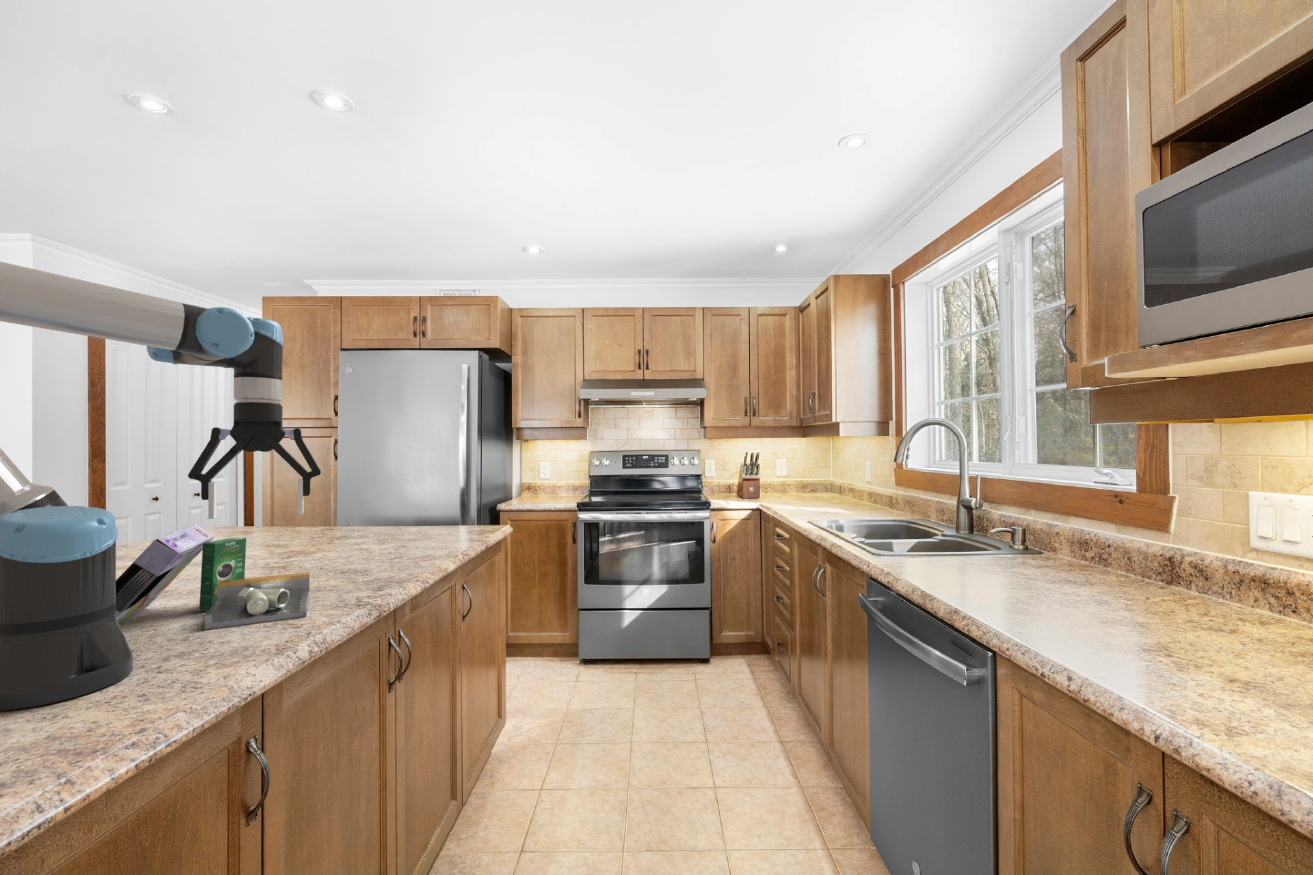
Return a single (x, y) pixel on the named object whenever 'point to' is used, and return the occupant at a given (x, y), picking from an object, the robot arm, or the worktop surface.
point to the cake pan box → (157, 569)
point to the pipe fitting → (262, 599)
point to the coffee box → (220, 567)
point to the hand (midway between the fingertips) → (257, 515)
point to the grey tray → (232, 614)
